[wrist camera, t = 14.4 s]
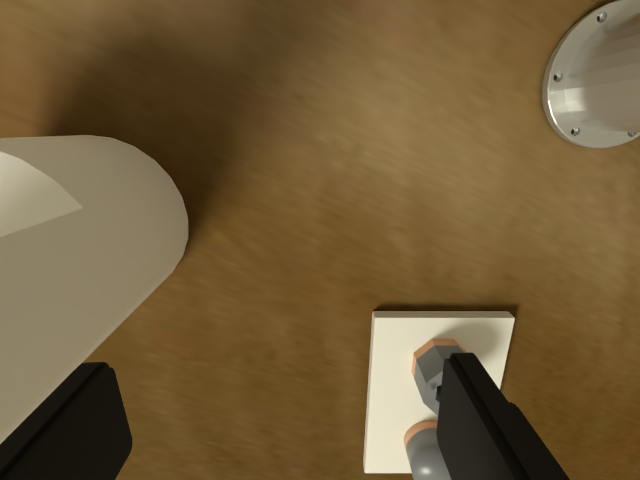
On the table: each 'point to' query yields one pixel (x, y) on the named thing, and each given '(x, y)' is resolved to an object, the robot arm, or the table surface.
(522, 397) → the table surface
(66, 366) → the cylinder
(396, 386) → the pin board
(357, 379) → the table surface
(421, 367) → the sleeve
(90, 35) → the table surface
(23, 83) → the table surface
